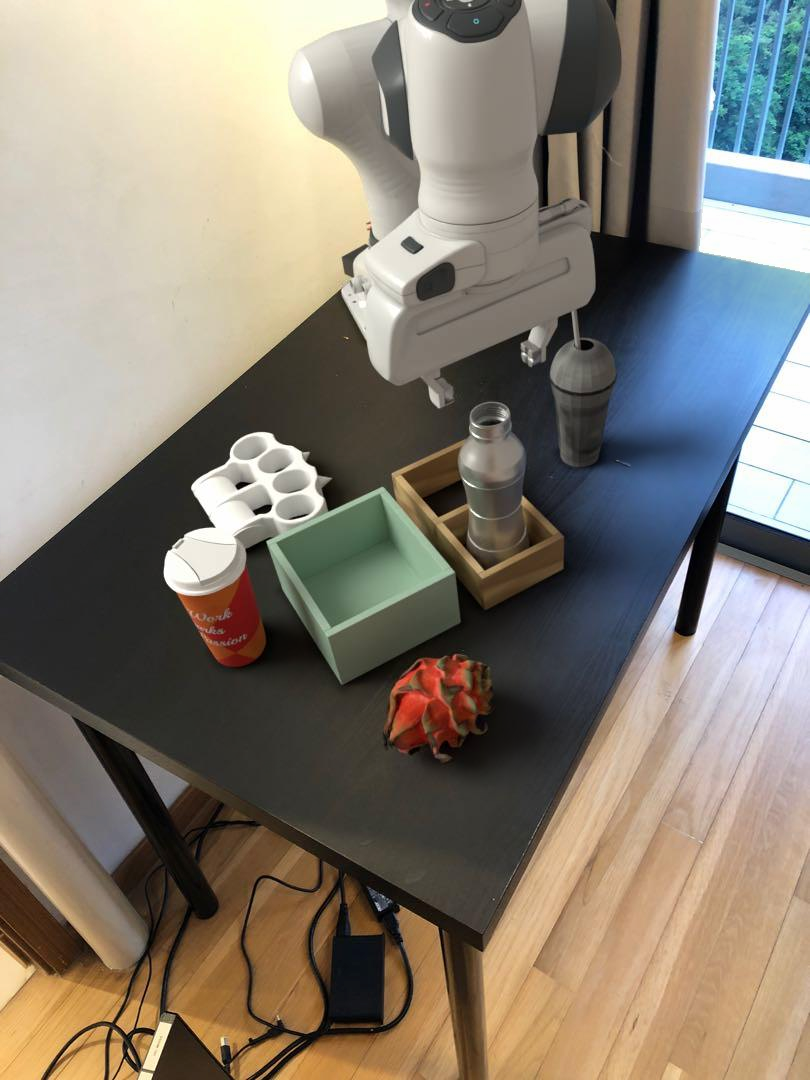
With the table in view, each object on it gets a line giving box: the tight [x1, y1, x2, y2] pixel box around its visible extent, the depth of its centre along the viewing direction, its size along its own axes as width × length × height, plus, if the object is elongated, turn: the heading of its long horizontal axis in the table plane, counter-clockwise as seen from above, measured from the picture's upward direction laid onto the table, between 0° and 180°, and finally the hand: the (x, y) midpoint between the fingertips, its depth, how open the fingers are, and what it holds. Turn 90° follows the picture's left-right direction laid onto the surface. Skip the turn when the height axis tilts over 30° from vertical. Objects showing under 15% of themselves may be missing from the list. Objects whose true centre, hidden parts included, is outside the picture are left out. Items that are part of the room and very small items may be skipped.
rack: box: [391, 438, 565, 611], centre depth 95 cm, size 19×10×5 cm, turn 29°
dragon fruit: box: [382, 653, 495, 764], centre depth 78 cm, size 8×8×12 cm
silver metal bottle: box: [458, 401, 531, 571], centre depth 86 cm, size 6×7×20 cm
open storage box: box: [266, 486, 462, 686], centre depth 88 cm, size 15×14×8 cm
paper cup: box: [163, 527, 267, 668], centre depth 85 cm, size 8×8×14 cm
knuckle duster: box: [191, 431, 333, 550], centre depth 103 cm, size 3×18×15 cm
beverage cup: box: [548, 309, 618, 468], centre depth 96 cm, size 7×7×20 cm
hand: (488, 381), depth 76 cm, fingers open, 8 cm apart
